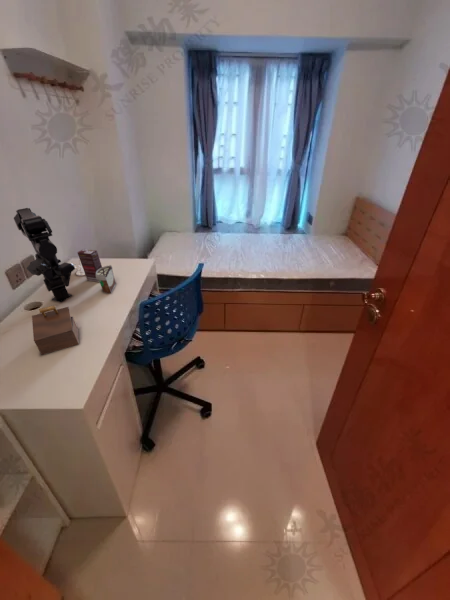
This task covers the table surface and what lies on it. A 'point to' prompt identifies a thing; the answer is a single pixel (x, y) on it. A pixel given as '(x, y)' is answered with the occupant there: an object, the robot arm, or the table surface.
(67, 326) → the brown wooden lid
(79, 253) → the supplement box
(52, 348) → the caddy
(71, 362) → the table surface
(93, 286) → the table surface
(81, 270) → the shell
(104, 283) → the food container
